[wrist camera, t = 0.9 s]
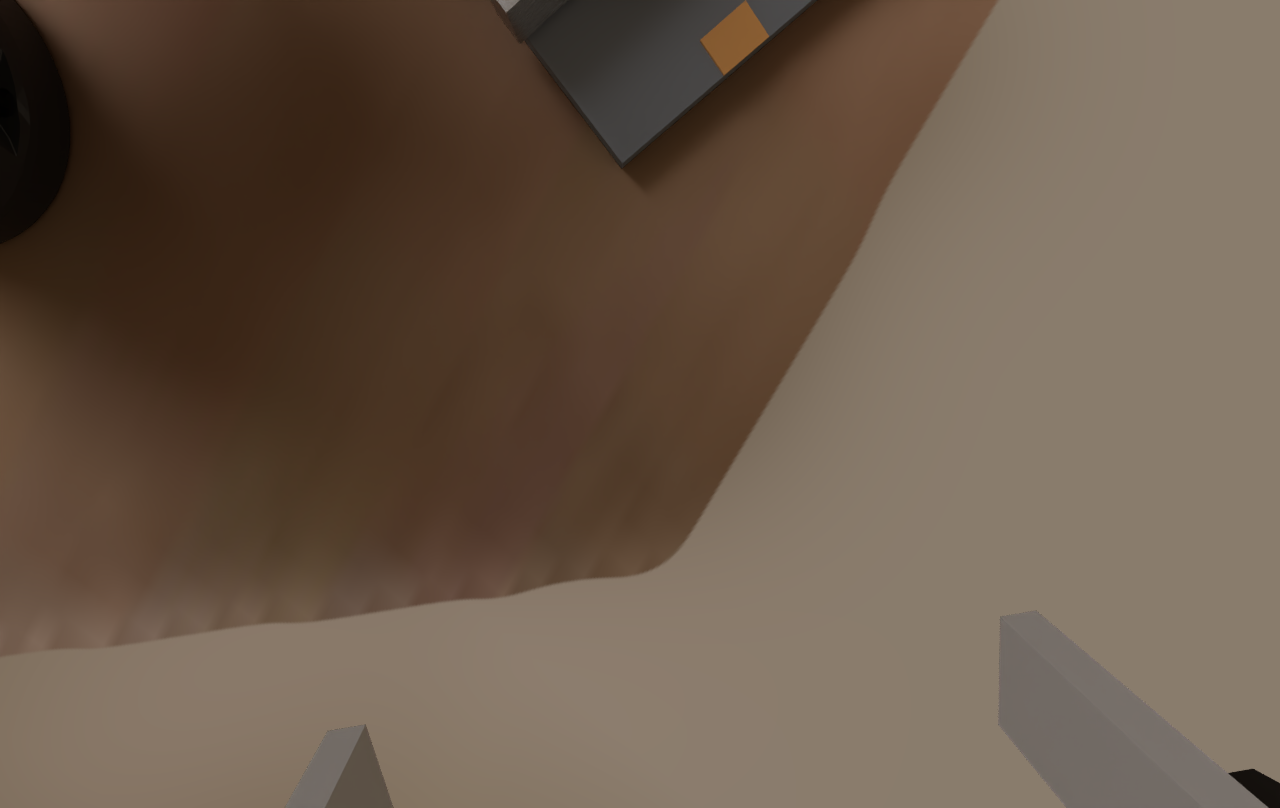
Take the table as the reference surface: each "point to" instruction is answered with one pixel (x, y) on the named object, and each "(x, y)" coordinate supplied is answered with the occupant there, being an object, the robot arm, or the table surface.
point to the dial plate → (651, 58)
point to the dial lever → (525, 14)
